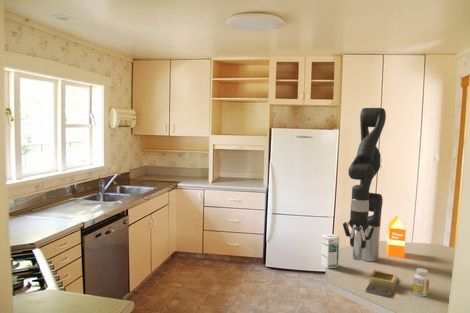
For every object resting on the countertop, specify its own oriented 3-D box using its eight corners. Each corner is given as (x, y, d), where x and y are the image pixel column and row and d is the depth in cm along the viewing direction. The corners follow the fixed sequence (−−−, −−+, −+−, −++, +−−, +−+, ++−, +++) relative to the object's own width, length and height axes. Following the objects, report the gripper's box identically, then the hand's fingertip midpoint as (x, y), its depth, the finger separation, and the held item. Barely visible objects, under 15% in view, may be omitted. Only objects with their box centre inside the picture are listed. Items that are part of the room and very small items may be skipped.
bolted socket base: (376, 274, 160) (376, 265, 160) (398, 279, 155) (398, 270, 155) (365, 291, 143) (366, 281, 142) (390, 297, 138) (390, 287, 137)
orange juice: (387, 255, 186) (390, 217, 184) (386, 250, 194) (388, 214, 193) (404, 257, 184) (406, 219, 182) (401, 252, 192) (404, 215, 190)
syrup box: (327, 268, 165) (328, 237, 164) (320, 264, 171) (322, 234, 170) (338, 267, 167) (339, 237, 166) (331, 263, 173) (333, 233, 172)
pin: (352, 255, 163) (354, 223, 161) (364, 258, 160) (366, 225, 159) (350, 259, 159) (351, 226, 157) (361, 261, 156) (363, 227, 155)
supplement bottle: (423, 290, 145) (424, 267, 144) (431, 296, 140) (432, 272, 139) (410, 290, 145) (411, 267, 144) (417, 296, 139) (419, 272, 139)
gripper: (378, 209, 157) (376, 248, 158) (345, 205, 164) (343, 241, 166) (374, 213, 150) (372, 253, 152) (340, 208, 158) (339, 246, 160)
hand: (357, 247), depth 159 cm, fingers closed on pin, 4 cm apart
